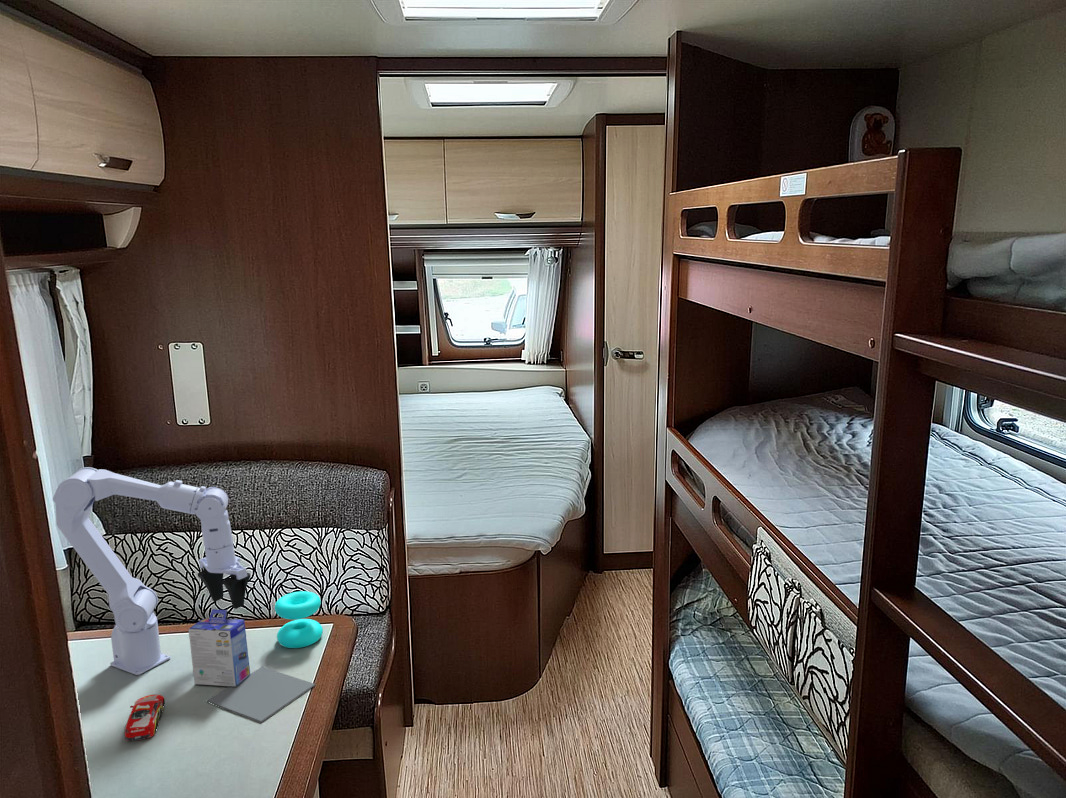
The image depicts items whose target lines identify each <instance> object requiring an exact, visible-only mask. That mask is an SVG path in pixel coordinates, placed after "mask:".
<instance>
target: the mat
mask: <svg viewBox="0 0 1066 798" xmlns="http://www.w3.org/2000/svg"><path fill="white" fill-rule="evenodd" d="M313 686H314V687H315V686H316V683H314V682H311V681H307V680H304V679H301V678H298V677H296V676H295V677H294V676H291V675H289V674H285V673H283V672H280V671H276V670H273V669H270V668H267V667H264V666H261V667H259V668H258V669H256V670H254V671H252V672H250V676H248V677H247V678H246V679H244V680H243V681H242V682H241V683H239V684H238V685H237V686H235V687H233V686H227V687H226V688H224V689H223V690H221V691H220V692H218V693H216V694H214V695H212V696H211V697H210V698H208V699H206V701H207V702H210V703H212V704H214V705H213V706H215V705H217V706H216V707H218V706H219V707H218V708H220V707H221V709H224V710H226V711H228V712H232V713H234V714H237V715H239V716H241V717H244V718H247V719H250V720H253V721H255V722H258V723H261V724H262V723H263V722H265V721H266V720H268V719H270V717H272V716H274V715H275V714H277V713H278V712H279V711H281V710H282V709H284V708H285V707H287V706H288V705H290V704H291V703H293V702H294V701H296V700H297V699H298V698H300V697H302V695H304V694H306V693H307V692H309V691H310V690H311V688H312V687H313ZM314 687H313V688H314ZM313 688H312V689H313ZM295 699H296V700H295ZM292 701H293V702H292ZM207 702H206V703H207ZM210 703H209V704H210ZM212 704H211V705H212Z"/></svg>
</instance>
